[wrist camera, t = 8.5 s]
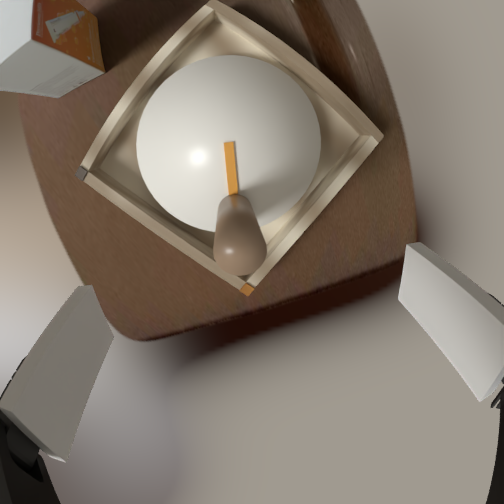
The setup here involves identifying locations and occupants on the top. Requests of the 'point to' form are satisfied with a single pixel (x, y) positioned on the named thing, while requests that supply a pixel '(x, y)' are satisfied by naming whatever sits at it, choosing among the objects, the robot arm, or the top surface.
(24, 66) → the small box
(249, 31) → the dial housing
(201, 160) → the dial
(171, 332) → the top surface
